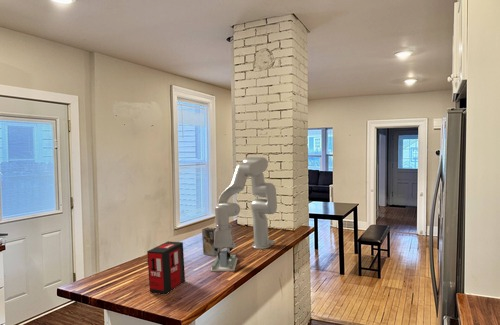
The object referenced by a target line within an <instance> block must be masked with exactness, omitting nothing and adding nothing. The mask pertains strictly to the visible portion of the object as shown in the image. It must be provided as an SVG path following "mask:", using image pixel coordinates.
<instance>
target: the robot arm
mask: <svg viewBox="0 0 500 325" xmlns="http://www.w3.org/2000/svg"><path fill="white" fill-rule="evenodd" d="M235 166H236V167H235V169H234V172H233V175H232V178H231V181H230V184H229V185H228V186H227V187H226V188H225V189H224V191H223V192H221V194H220V195H219V197H218V201H217V204H216V206H215V207H214V214H215V215H214V216H215V217H214V218H215V228H216V229H215V234H214V243H213V245H212V247H211V248H213V249H214V250H215V251H217V253H218V258H219V260H220V252H221V249H227V250H228V252H227V260H229V258H230V255H231V252H232V251H233V249H235V248H236V247H237V245H236V244H235V242H234V241H233V233H232V232H233V231H232V227H233V225H232V224H230V217H236V216H238V215H239V214H240V213H241V206H240V205H239V204H238V203H235V202H228V201H229V199H230V198H231V197H233V196H234V195H237V194H239V193H240V192H242V191H244V189H245V186H246V183H247V180H248V178H250V179H251V180H250V181H251V183H250V184H251V193H252V196H253V197H255V198H254V199H253V200H252V201H251V203H250V210H251V214H252V225H253V226H252V227H253V229H252V230H253V243H252V244H251V248H253V249H256V250H263V249H264V250H265V249H268V248H271V247H272V245H273V244H276V240H274V239H269V223H268V217H267V215H274V214H275V213H277V209H278V200H277V188H276V186H275V184H273V183H272V182H265V174H264V172H265V171H266V170H267V169H268V166H269V161H268V160H267V158H266V157H263V156H261V157H253V156H252V157H245V158H243V159H242V162H240V163H238V164H236V165H235ZM256 197H257V198H256Z"/></svg>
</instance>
